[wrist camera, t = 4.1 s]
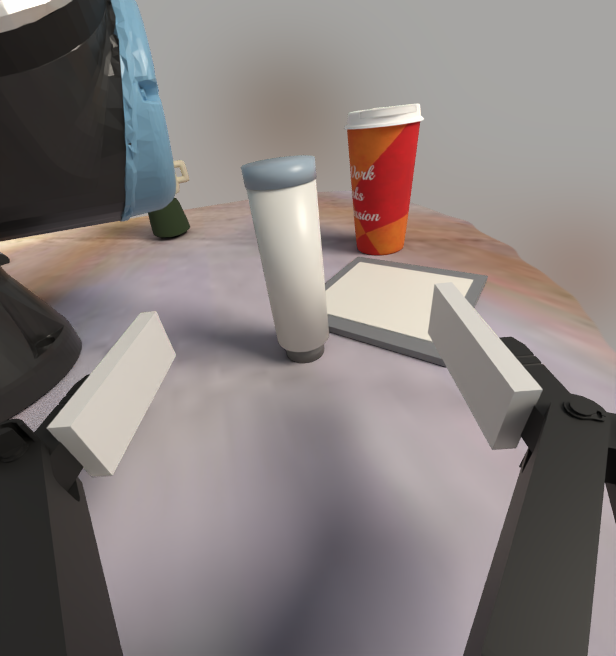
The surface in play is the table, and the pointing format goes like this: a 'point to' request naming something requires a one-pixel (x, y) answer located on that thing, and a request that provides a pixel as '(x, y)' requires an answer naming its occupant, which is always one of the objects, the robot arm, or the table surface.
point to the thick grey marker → (290, 251)
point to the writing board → (392, 304)
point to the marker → (3, 259)
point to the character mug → (171, 211)
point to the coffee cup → (382, 174)
